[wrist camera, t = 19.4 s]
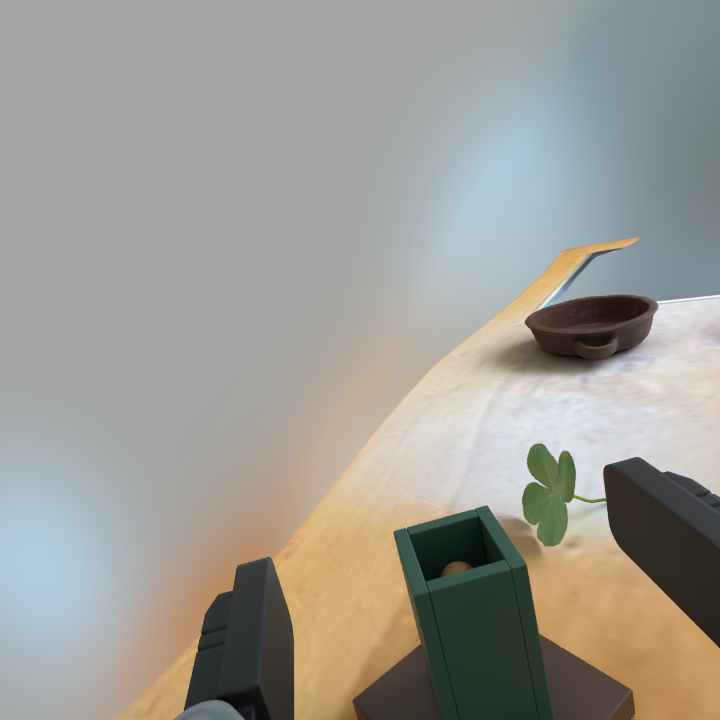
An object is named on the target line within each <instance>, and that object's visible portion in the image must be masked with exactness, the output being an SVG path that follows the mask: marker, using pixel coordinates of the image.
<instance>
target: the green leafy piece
mask: <svg viewBox="0 0 720 720" xmlns="http://www.w3.org/2000/svg"><path fill="white" fill-rule="evenodd" d="M527 465H528V469H529V471H530V473H531V475H532V476H534V477H535V479H536V480H538V481H539V482H540V483H542V484H543V485H544V486H546V487H547V488H548V489H547V488H546V487H544V486H542V485H539V484H538V483H536V482H532V483H529V484H528V485H527V487H526V488H525V491H524V494H523V498H522V504H523V511H524V517H525V518H526V520H527V521H528V523H530V524H531V525H532V524H534V525H535V524H537V523H539V521H540V520H541V521H540V523H539V526H538V529H537V538H538V539H539V540H540V541H543V544H544V545H545V546H554V545H557V544H559V543H560V542H561V540H562V539H563V537H564V534H565V532H566V529H567V522H568V516H567V507H566V504H565V502H566V503H569V502H570V501H571V500H572V498H577V499H579V500H582V501H585V502H590V503H594V502H601V501H606V498H603V499H596V500H588V499H585V498H582V497H579V496H576V495H574V489H575V477H576V471H575V465H574V462H573V458H572V456H571V455H570V453H569V452H568V451H563V452H562V453H561V455H560V457H559V461H558V464H557V461H556V460H555V459H554V457H553V456H552V455H551V454H550V453H549V451H548V449H547V448H546V446H545V445H543V444H535V445H533V446H532V447H531V448H530V450H529V454H528V458H527Z"/></svg>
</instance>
